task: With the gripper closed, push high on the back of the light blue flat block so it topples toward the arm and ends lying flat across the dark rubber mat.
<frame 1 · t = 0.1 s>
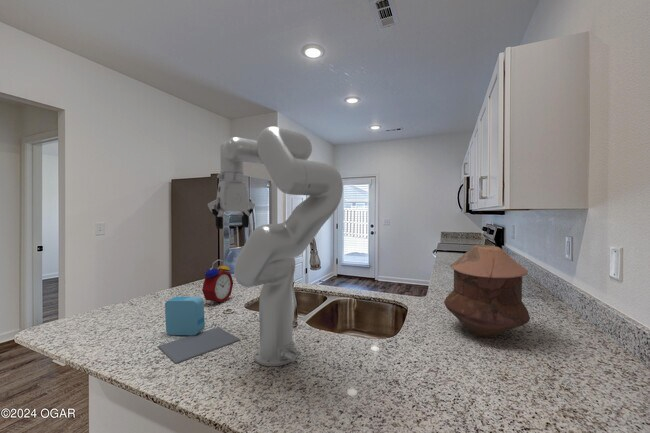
hand: (232, 228, 101), 37 cm above the counter, tool pointing down, fingers open, 9 cm apart
pottery vessel: (484, 332, 101), on the counter
rubber mat: (199, 343, 94), on the counter
alarm clock: (216, 302, 137), on the counter
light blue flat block: (185, 333, 102), on the counter, touching rubber mat
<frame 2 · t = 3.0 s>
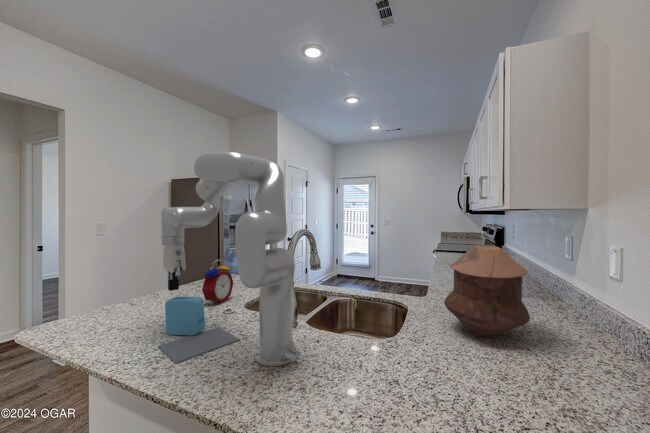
hand: (173, 289, 108), 14 cm above the counter, tool pointing down, fingers closed
nothing on the counter moved.
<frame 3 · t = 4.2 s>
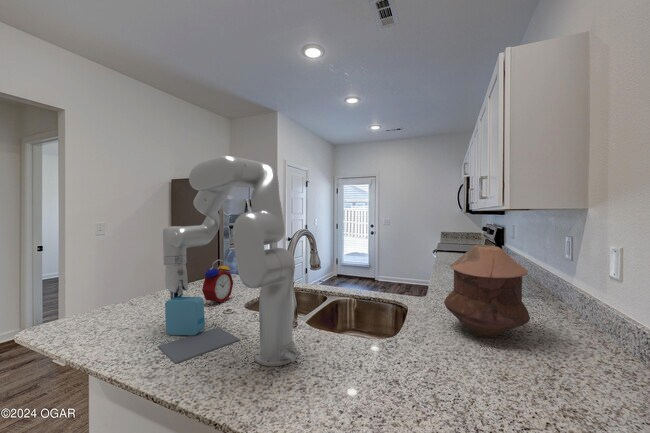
hand: (176, 309, 107), 6 cm above the counter, tool pointing down, fingers closed
nothing on the counter moved.
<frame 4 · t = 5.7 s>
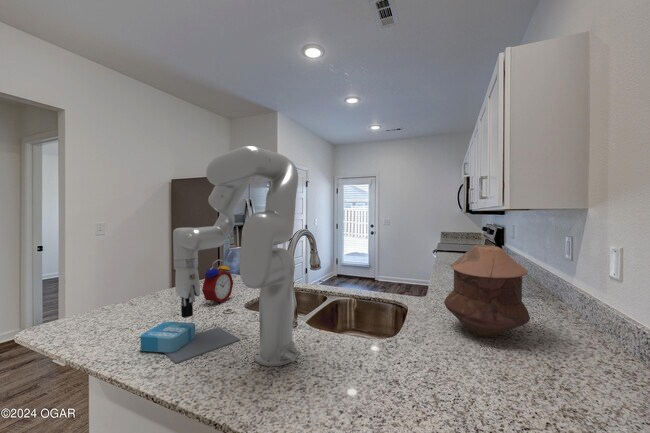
hand: (187, 316, 101), 6 cm above the counter, tool pointing down, fingers closed
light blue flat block: (181, 328, 99), point 3 cm above the counter, touching rubber mat
everything else where it was.
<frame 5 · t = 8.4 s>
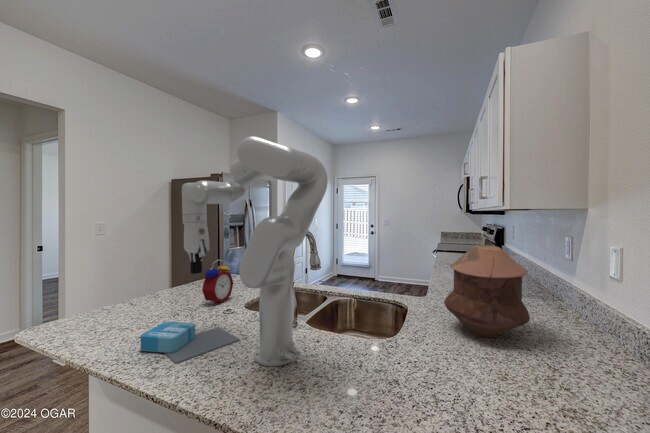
hand: (196, 272, 99), 22 cm above the counter, tool pointing down, fingers closed
nothing on the counter moved.
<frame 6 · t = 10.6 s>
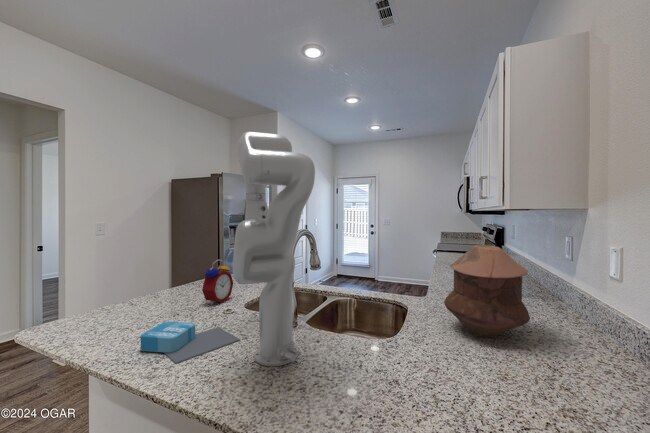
hand: (256, 245, 113), 29 cm above the counter, tool pointing down, fingers closed
nothing on the counter moved.
at the end: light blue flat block tilted 90°; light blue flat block touching rubber mat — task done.
